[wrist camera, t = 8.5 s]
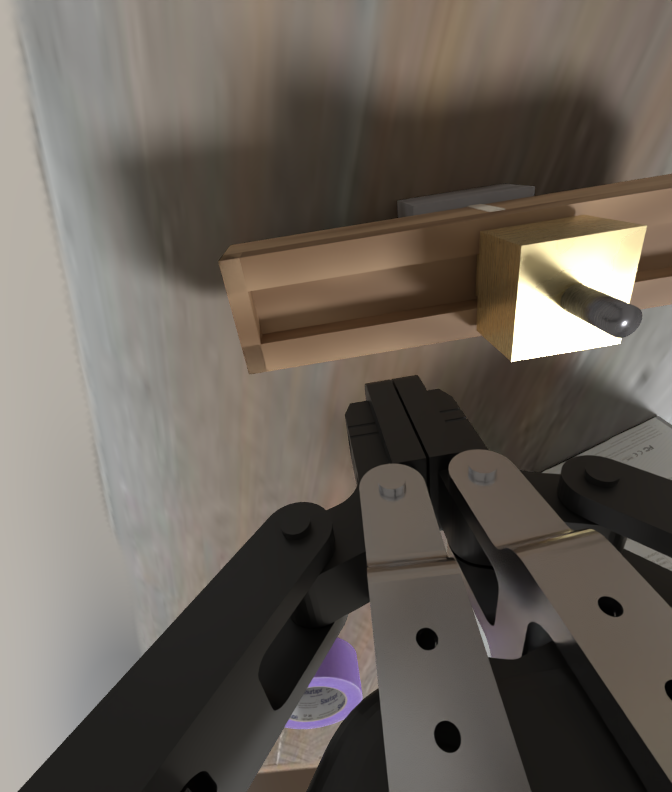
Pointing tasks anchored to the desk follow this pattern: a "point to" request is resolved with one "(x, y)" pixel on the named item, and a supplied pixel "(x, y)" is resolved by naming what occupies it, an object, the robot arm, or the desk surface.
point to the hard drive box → (639, 465)
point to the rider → (558, 285)
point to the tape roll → (330, 690)
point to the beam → (413, 271)
